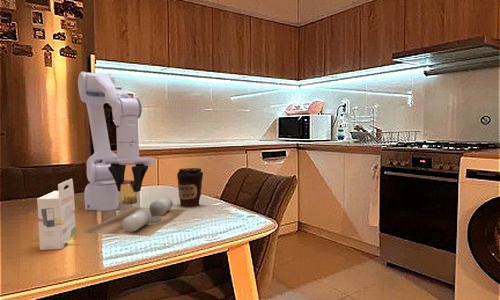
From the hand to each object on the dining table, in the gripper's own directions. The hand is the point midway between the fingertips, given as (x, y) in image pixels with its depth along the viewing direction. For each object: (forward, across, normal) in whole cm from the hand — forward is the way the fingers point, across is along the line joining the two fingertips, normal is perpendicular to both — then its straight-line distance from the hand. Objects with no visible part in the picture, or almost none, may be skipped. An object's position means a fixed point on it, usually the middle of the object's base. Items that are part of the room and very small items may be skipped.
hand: (129, 191), depth 101 cm
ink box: (+9, -8, -18) cm, 22 cm away
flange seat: (+8, +6, +1) cm, 10 cm away
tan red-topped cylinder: (+3, 0, 0) cm, 3 cm away
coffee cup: (+9, +10, +20) cm, 24 cm away
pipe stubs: (+9, +6, +1) cm, 11 cm away
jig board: (+9, +3, +1) cm, 9 cm away
